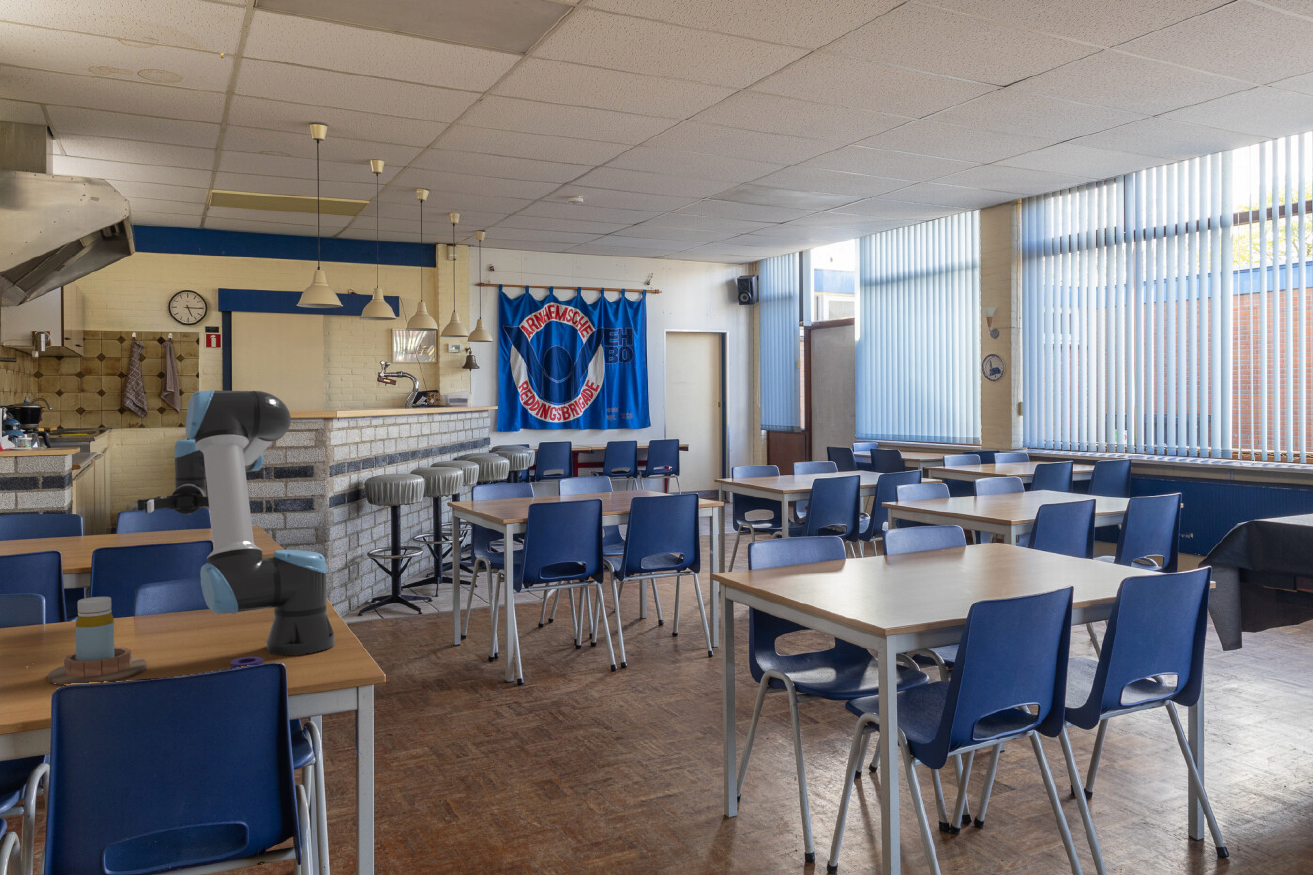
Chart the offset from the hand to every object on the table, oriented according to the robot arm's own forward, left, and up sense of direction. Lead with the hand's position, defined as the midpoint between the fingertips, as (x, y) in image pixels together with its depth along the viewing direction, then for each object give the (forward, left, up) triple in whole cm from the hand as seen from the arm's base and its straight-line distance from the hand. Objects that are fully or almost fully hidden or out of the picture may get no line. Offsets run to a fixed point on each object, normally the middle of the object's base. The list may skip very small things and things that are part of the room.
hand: (180, 505), depth 217 cm
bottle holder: (-11, +23, -34) cm, 42 cm away
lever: (-39, +7, -34) cm, 52 cm away
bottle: (-11, +24, -33) cm, 42 cm away
